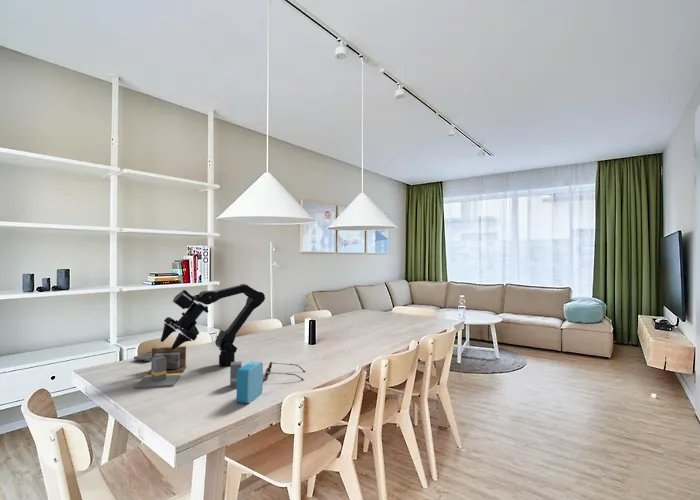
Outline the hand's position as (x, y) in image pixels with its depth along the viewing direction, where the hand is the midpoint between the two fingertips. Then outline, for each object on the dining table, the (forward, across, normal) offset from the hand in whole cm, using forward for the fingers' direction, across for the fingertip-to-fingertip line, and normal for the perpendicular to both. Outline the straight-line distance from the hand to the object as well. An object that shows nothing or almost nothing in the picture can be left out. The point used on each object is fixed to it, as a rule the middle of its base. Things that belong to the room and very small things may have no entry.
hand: (166, 345), depth 158 cm
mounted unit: (+9, +3, -12) cm, 15 cm away
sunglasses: (-16, -43, -28) cm, 53 cm away
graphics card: (+10, +29, -20) cm, 37 cm away
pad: (+13, -7, -3) cm, 15 cm away
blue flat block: (-1, -50, -7) cm, 50 cm away
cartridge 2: (-2, -35, -12) cm, 37 cm away
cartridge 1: (+12, -7, -3) cm, 14 cm away
